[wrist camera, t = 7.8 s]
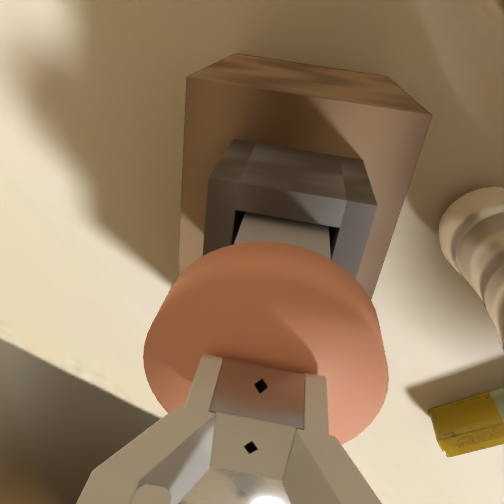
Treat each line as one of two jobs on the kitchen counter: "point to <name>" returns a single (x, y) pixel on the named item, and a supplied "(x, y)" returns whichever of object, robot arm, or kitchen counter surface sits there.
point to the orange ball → (273, 320)
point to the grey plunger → (235, 489)
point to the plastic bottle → (478, 246)
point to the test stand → (297, 156)
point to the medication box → (470, 423)
